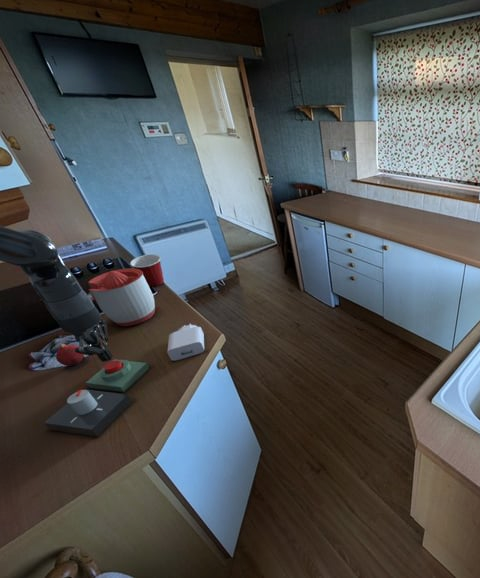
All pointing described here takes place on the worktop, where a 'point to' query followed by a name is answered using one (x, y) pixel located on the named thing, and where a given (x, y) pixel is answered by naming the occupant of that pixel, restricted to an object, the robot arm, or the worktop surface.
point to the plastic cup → (149, 268)
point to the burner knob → (82, 402)
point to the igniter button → (113, 366)
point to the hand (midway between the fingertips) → (107, 359)
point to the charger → (186, 342)
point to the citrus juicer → (123, 296)
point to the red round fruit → (68, 355)
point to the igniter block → (118, 377)
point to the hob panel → (90, 415)
